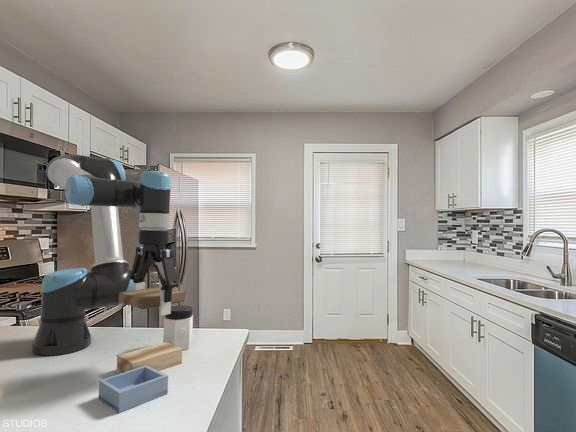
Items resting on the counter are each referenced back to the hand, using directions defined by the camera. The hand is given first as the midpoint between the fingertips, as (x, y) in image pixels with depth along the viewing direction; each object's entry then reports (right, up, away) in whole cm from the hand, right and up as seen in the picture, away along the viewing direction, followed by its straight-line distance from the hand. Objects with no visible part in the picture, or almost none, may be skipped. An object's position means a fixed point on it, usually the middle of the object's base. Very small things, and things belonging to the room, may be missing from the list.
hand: (151, 310), depth 95 cm
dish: (+2, -14, -17) cm, 22 cm away
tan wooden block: (0, -15, -1) cm, 15 cm away
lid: (0, +2, 0) cm, 2 cm away
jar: (+2, -16, +15) cm, 22 cm away
